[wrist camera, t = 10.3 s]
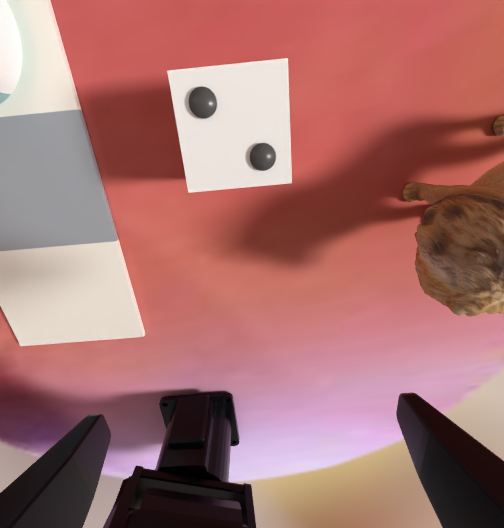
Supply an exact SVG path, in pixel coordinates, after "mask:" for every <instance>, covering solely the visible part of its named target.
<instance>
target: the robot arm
mask: <svg viewBox="0 0 504 528" xmlns="http://www.w3.org/2000/svg"><path fill="white" fill-rule="evenodd" d="M226 398H228V399H226ZM159 405H160V409H161V412H162V415H163V419H164V422H165V425H166V429H167V431H166V434H165V438H164V441H163V445H162V448H161V452H160V455H159V459H158V462H157V466H156V469H155V470H150V469H144V468H143V467H141V466H136V467H135V469H134V472H133V474H132V476H131V477H129V478H127V479H125V480H123V482H122V485H121V488H120V491H119V493H118V496H117V499H116V502H115V504H114V506H113V509H112V510H111V512H110V515H109V516H108V519H107V521H106V523H105V525H104V527H103V528H256V523H255V514H254V506H253V497H252V488H251V484H245V483H244V484H236V483H230V482H228V478H229V462H230V446H236V445H238V444H239V433H238V427H237V420H236V414H235V407H234V401H233V396H232V394H231V393H213V394H199V395H185V396H171V397H163V398H161V400H160V403H159ZM397 420H398V423H399V426H400V428H401V431H402V434H403V436H404V439H405V442H406V445H407V447H408V450H409V453H410V455H411V458H412V461H413V463H414V466H415V469H416V471H417V474H418V476H419V479H420V481H421V483H422V485H423V487H424V490H425V492H426V494H427V496H428V498H429V500H430V502H431V504H432V506H433V508H434V511H435V513H436V514H437V517H438V519H439V521H440V523H441V525H442V527H443V528H504V461H503V460H502V459H500V458H499V457H498V456H496V455H495V454H494V453H493V452H491V451H490V450H489V449H487V448H486V447H484V446H483V445H482V444H481V443H480V442H478V441H477V440H476V439H474V438H473V437H472V436H470V435H469V434H468V433H467V432H465V431H464V430H463V429H461V428H460V427H459V426H457V425H456V424H455V423H454V422H452V421H451V420H450V419H448V418H447V417H446V416H444V415H443V414H442V413H441V412H439V411H438V410H437V409H435V408H434V407H433V406H431V405H430V404H429V403H428V402H426V401H425V400H424V399H422V398H421V397H420V396H418V395H417V394H415V393H402V394H400V395H399V400H398V406H397ZM110 438H111V433H110V429H109V427H108V425H107V422H106V420H105V417H104V416H103V415H102V414H93V415H88V416H87V417H85V418H84V419H83V420H82V421H81V422H80V423H79V424H77V425H76V426H75V427H74V428H73V429H72V430H71V431H70V432H68V433H67V434H66V435H65V436H64V437H63V438H62V439H61V440H59V441H58V442H57V443H56V444H55V445H54V446H53V447H52V448H51V449H49V450H48V451H47V452H46V453H45V454H44V455H43V456H42V457H40V458H39V459H38V460H37V461H36V462H35V463H34V464H33V465H31V466H30V467H29V468H28V469H27V470H26V471H25V472H24V473H22V474H21V475H20V476H19V477H18V478H17V479H16V480H15V481H14V482H12V483H11V484H10V485H9V486H8V487H7V488H6V489H5V490H3V491H2V492H1V493H0V528H82V527H83V525H84V522H85V519H86V517H87V514H88V512H89V509H90V506H91V503H92V500H93V498H94V495H95V491H96V488H97V485H98V481H99V477H100V474H101V471H102V467H103V464H104V460H105V457H106V453H107V450H108V446H109V442H110Z"/></svg>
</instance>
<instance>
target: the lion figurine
mask: <svg viewBox="0 0 504 528" xmlns="http://www.w3.org/2000/svg"><path fill="white" fill-rule="evenodd" d="M493 129H494V132H495V134H496V135H498V136H504V115H502V116H500V117H498V118H497V119H496V120H495V122H494V124H493ZM403 198H404V199H406V201H407V202H412V201H415V200H419V201H421V200H425V201H427V202H428V203H430V204H432V206H431V207H429V208H428V209H426V210H425V212H424V221H423V222H422V223H421V224H419V225H418V227H417V232H416V233H415V237H416V241H417V243H418V247H417V253H416V260H415V265H416V271H417V273H418V278H419V282H420V285H421V287H422V289H423V290H424V292H425V294H427V295H429V296H430V297H432V298H434V299H436V300H437V301H439V302H441V303H442V304H443V305H446V306H447V307H448V308H449V309H450V310H451V311H452V312H453V313H454V314H457V315H463V314H466V315H467V316H476V315H479V314H482V313H484V312H487V313H490V314H493V313H504V162H502V163H500V164H498V165H497V166H495V167H494V168H492V169H490V170H489V171H488V172H486V173H485V174H484V175H482V176H481V177H480V178H479V179H477V180H476V181H475V182H474V183H473V184H472V185H471V186H466V185H454V186H444V185H432V184H426V183H409V184H407V185H406V186H405V188H404V190H403Z"/></svg>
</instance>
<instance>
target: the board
mask: <svg viewBox="0 0 504 528" xmlns="http://www.w3.org/2000/svg"><path fill="white" fill-rule="evenodd" d="M6 1H7V3H8V5H9V7H10V9H11V11H12V13H13V15H14V18H15V21H16V23H17V27H18V30H19V34H20V38H21V45H22V69H21V74H20V78H19V81H18V83H17V85H16V87H15V89H14V91H13V92H12V94H11V95H10V96H9V97H8V98H7V99H6V100H5V101H4V102H2V103H1V104H0V306H1V308H2V310H3V312H4V314H5V316H6V318H7V320H8V322H9V324H10V326H11V328H12V330H13V332H14V334H15V336H16V338H17V340H18V342H19V344H20V346H30V345H43V344H56V343H69V342H82V341H95V340H108V339H121V338H134V337H144V335H145V331H144V327H143V324H142V320H141V317H140V313H139V310H138V306H137V303H136V299H135V296H134V292H133V289H132V285H131V282H130V278H129V275H128V271H127V268H126V264H125V261H124V257H123V253H122V250H121V246H120V243H119V239H118V236H117V232H116V229H115V225H114V222H113V218H112V215H111V211H110V208H109V204H108V201H107V197H106V194H105V190H104V187H103V183H102V180H101V176H100V173H99V169H98V166H97V162H96V159H95V155H94V152H93V148H92V145H91V141H90V138H89V134H88V131H87V127H86V124H85V120H84V117H83V113H82V110H81V106H80V103H79V99H78V96H77V92H76V89H75V85H74V82H73V78H72V75H71V71H70V68H69V64H68V61H67V57H66V54H65V50H64V47H63V43H62V40H61V36H60V33H59V29H58V26H57V22H56V19H55V15H54V12H53V8H52V5H51V1H50V0H6Z"/></svg>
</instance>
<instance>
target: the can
mask: <svg viewBox="0 0 504 528" xmlns="http://www.w3.org/2000/svg"><path fill="white" fill-rule="evenodd" d="M21 69H22V45H21V38H20V34H19V30H18V27H17V23H16V21H15V18H14V15H13V13H12V11H11V9H10V7H9V5H8V3H7V1H6V0H0V104H1V103H2V102H4V101H5V100H6V99H7V98H8V97H9V96H10V95H11V94H12V92H13V91H14V89H15V87H16V85H17V83H18V81H19V78H20V74H21Z"/></svg>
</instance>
